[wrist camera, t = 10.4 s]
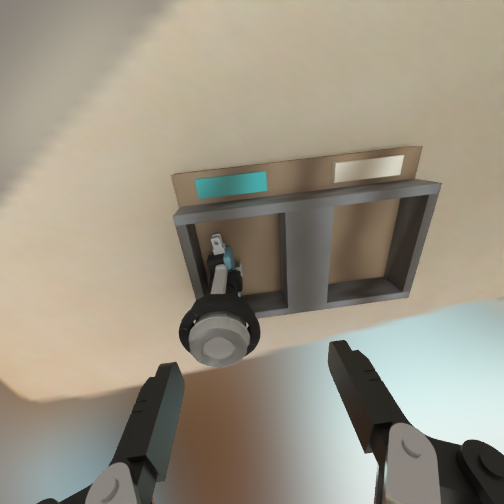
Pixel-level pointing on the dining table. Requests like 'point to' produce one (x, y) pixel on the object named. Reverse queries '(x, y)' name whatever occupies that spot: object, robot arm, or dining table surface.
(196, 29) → the dining table surface
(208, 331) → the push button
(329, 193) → the dock
